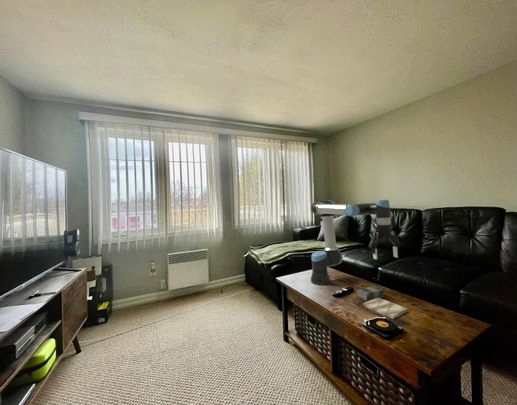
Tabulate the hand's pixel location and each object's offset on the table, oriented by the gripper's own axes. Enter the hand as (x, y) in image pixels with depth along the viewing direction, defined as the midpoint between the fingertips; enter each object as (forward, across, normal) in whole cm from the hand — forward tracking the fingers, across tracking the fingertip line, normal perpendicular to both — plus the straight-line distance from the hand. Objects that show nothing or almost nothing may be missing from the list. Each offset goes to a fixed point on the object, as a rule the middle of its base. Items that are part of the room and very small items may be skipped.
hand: (385, 258), depth 130 cm
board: (+26, -9, -10) cm, 29 cm away
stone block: (+27, -8, +6) cm, 28 cm away
